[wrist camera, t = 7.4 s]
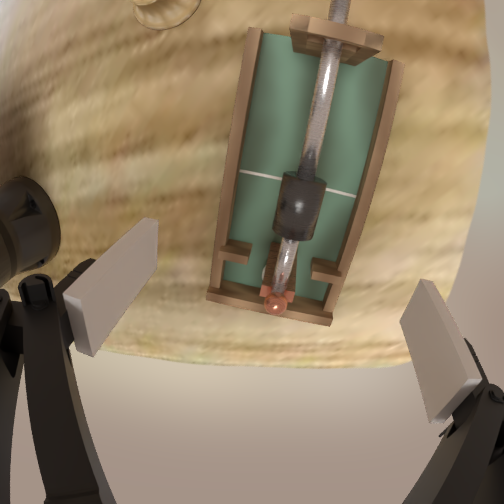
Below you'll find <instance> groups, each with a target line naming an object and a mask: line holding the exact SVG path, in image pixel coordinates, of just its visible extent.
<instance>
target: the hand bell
mask: <svg viewBox="0 0 504 504" xmlns="http://www.w3.org/2000/svg"><path fill="white" fill-rule="evenodd" d="M130 1H131V2H132V3H133V10H134V14H135V17H136V19H137V20H138V21H139V22H140V23H141V24H142V25H143V26H145V27H147V28H149V29H154V30H165V29H169V28H173V27H175V26H178V25H179V24H181V23H183V22H185V21H186V20H187V19H188V18H189V17H190V16H191V15H192V14H193V13H194V12H195V11H196V9H197V8H198V6H199V3H200V1H201V0H130Z"/></svg>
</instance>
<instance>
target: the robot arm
mask: <svg viewBox="0 0 504 504" xmlns="http://www.w3.org/2000/svg"><path fill="white" fill-rule="evenodd" d="M158 221H159V220H156V219H151V218H147V217H144V218H143V219H141V220H140V221H139V222H138V223H137V224H136V225H135V226H133V227H132V228H131V229H130V230H129V231H128V232H127V233H126V234H124V235H123V236H122V237H121V238H120V239H119V240H118V241H117V242H116V243H114V244H113V245H112V246H111V247H110V248H109V249H108V250H107V251H106V252H105V253H104V254H103V255H102V256H100V257H99V258H98V259H97V260H95V259H91V258H90V259H88V260H86V261H84V262H81V263H80V264H79V265H78V266H76V267H75V268H74V269H73V271H71V272H70V273H69V274H68V275H67V276H66V277H65V278H64V279H63V280H62V281H60V282H59V283H58V284H57V285H56V286H55V287H54V288H53V283H52V280H51V278H50V277H49V276H47V275H44V274H33V275H30V276H27V277H26V278H24V279H23V280H22V281H21V282H20V283H19V286H18V290H19V293H20V297H21V300H22V302H18V301H11V299H10V296H9V294H8V292H7V291H6V290H5V289H0V504H10V463H11V447H12V435H13V425H14V417H15V409H16V403H17V396H18V390H19V384H20V379H21V374H22V369H23V364H24V370H25V383H26V392H27V401H28V410H29V417H30V423H31V430H32V435H33V441H34V446H35V451H36V455H37V460H38V464H39V468H40V473H41V476H42V480H43V484H44V487H45V491H46V499H45V501H44V504H116V501H115V499H114V496H113V494H112V492H111V489H110V487H109V485H108V482H107V480H106V477H105V474H104V472H103V469H102V466H101V464H100V461H99V458H98V455H97V452H96V450H95V447H94V444H93V441H92V437H91V434H90V431H89V428H88V424H87V421H86V417H85V414H84V410H83V407H82V403H81V399H80V395H79V391H78V387H77V382H76V378H75V374H74V369H73V364H72V359H71V353H70V350H69V346H70V345H71V343H72V342H73V341H74V342H75V346H76V350H77V351H79V352H81V353H83V354H86V355H88V356H91V357H94V355H95V354H96V352H97V351H98V350H99V348H100V347H101V345H102V344H103V342H104V341H105V339H106V338H107V337H108V335H109V334H110V332H111V331H112V329H113V328H114V327H115V325H116V324H117V322H118V321H119V320H120V318H121V317H122V315H123V314H124V313H125V311H126V310H127V308H128V307H129V306H130V304H131V303H132V301H133V300H134V299H135V297H136V296H137V295H138V293H139V292H140V291H141V289H142V288H143V287H144V285H145V284H146V282H147V281H148V280H149V278H150V277H151V276H152V274H153V273H154V272H155V271H156V269H157V246H158ZM59 244H60V228H59V223H58V218H57V215H56V212H55V210H54V207H53V205H52V203H51V201H50V199H49V198H48V196H47V194H46V193H45V192H44V190H43V189H42V188H41V187H40V186H39V185H38V184H37V183H36V182H34V181H33V180H31V179H29V178H26V177H16V178H14V179H12V180H10V181H7V182H6V183H4V184H3V185H2V186H1V187H0V288H1V287H2V286H3V285H4V284H6V283H7V282H8V281H9V280H10V279H11V278H12V277H14V276H15V275H17V274H20V273H24V272H27V271H30V270H33V269H37V268H40V267H42V266H44V265H45V264H46V263H48V262H49V261H50V260H51V259H52V258H53V257H54V256H55V255H56V253H57V251H58V248H59ZM400 324H401V327H402V330H403V333H404V336H405V339H406V342H407V345H408V349H409V352H410V355H411V358H412V362H413V365H414V368H415V372H416V375H417V379H418V382H419V386H420V389H421V393H422V397H423V400H424V404H425V408H426V412H427V416H428V421H429V423H443V422H445V421H446V420H447V419H448V418H449V417H450V415H451V414H452V416H453V420H454V421H453V422H452V423H451V424H450V425H449V426H448V427H447V428H446V429H445V430H444V431H443V432H442V433H441V434H440V435H439V437H441V436H442V435H444V437H443V438H442V440H441V442H440V444H439V446H438V447H437V449H436V451H435V453H434V455H433V456H432V458H431V460H430V462H429V463H428V465H427V467H426V468H425V470H424V471H423V473H422V475H421V476H420V478H419V479H418V481H417V482H416V484H415V485H414V487H413V489H412V490H411V491H410V493H409V494H408V496H407V497H406V499H405V500H404V502H403V503H402V504H504V393H503V391H502V390H501V389H500V388H499V387H498V386H496V385H494V384H489V382H488V380H487V377H486V375H485V373H484V371H483V368H482V366H481V364H480V362H479V360H478V358H477V356H476V354H475V352H474V349H473V347H472V345H471V344H470V343H469V342H468V341H467V340H466V339H465V338H463V336H462V334H461V332H460V330H459V328H458V326H457V324H456V323H455V321H454V319H453V317H452V315H451V313H450V311H449V309H448V308H447V306H446V304H445V302H444V300H443V298H442V297H441V295H440V293H439V291H438V290H437V288H436V286H435V284H434V283H433V281H429V280H425V279H420V281H419V283H418V285H417V287H416V289H415V291H414V293H413V296H412V298H411V300H410V302H409V304H408V305H407V307H406V309H405V311H404V313H403V315H402V317H401V319H400Z"/></svg>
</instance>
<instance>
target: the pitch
mask: <svg viewBox="0 0 504 504" xmlns="http://www.w3.org/2000/svg"><path fill="white" fill-rule="evenodd" d="M289 29H290V35H291V37H288V36H282V35H276V34H269V33H264V32H263V31H262V29H261V28H252V27H249V28H248V33H247V38H246V44H245V49H244V54H243V60H242V65H241V71H240V77H239V82H238V88H237V94H236V100H235V106H234V112H233V118H232V124H231V130H230V137H229V143H228V150H227V156H226V163H225V170H224V177H223V184H222V191H221V198H220V205H219V213H218V220H217V228H216V236H215V244H214V252H213V260H212V269H211V277H210V286H209V288H208V290H207V295H206V300H209V301H213V302H217V303H221V304H225V305H230V306H234V307H238V308H243V309H247V310H251V311H256V312H260V313H265V314H270V313H268V312H267V311H266V309H265V307H264V300H265V298H266V297H262V296H259V295H260V291H261V286H262V282H263V280H262V272H263V269H264V267H265V266H266V264H267V259H268V254H269V250H270V245H271V242H275V243H279V244H281V241H282V237H281V236H279V235H277V234H276V233H275V232H274V231H273V230H272V224H273V220H274V215H275V210H276V205H277V201H278V196H279V191H280V186H281V181H282V177H283V173H284V172H286V171H295V172H297V170H298V165H299V161H300V156H301V152H302V147H303V142H304V137H305V133H306V128H307V123H308V118H309V113H310V108H311V104H312V99H313V94H314V89H315V84H316V79H317V73H318V68H319V63H320V58H321V53H322V47H323V42H324V38H327V39H332V40H336V41H340V42H343V48H342V53H341V58H340V64H339V69H338V74H337V79H336V84H335V89H334V94H333V99H332V103H331V108H330V113H329V117H328V122H327V127H326V131H325V136H324V140H323V145H322V149H321V154H320V158H319V162H318V167H317V171H316V175H315V176H316V177H319V178H321V179H323V180H324V181H326V182H327V186H326V190H325V194H324V198H323V202H322V206H321V209H320V213H319V217H318V221H317V224H316V228H315V232H314V235H313V238H312V239H311V240H309V241H299V244H298V247H297V269H296V288H295V295H294V298H293V301H292V303H290V302H288V305H287V308H286V310H285V311H284V312H283V313H282V314H280V315H274V316H279V317H284V318H289V319H293V320H298V321H303V322H308V323H313V324H319V325H324V326H329V327H330V325H331V323H332V320H333V314H332V312H333V310H334V307H335V305H336V302H337V300H338V297H339V294H340V292H341V289H342V287H343V284H344V281H345V278H346V276H347V273H348V270H349V267H350V265H351V262H352V259H353V256H354V253H355V250H356V247H357V245H358V242H359V239H360V236H361V233H362V230H363V226H364V223H365V220H366V217H367V214H368V211H369V208H370V204H371V201H372V198H373V194H374V191H375V188H376V184H377V181H378V177H379V174H380V170H381V166H382V163H383V159H384V155H385V151H386V148H387V144H388V140H389V136H390V132H391V127H392V123H393V119H394V115H395V110H396V106H397V101H398V97H399V92H400V87H401V82H402V77H403V72H404V66H405V64H404V63H402V62H399V61H396V60H391V61H389V62H387V61H384V60H381V59H378V58H375V57H372V56H374V55H375V54H377V53H379V52H380V51H381V50H382V44H383V38H384V36H383V35H380V34H377V33H373V32H370V31H367V30H363V29H360V28H356V27H353V26H349V25H345V24H341V23H337V22H333V21H329V20H324V19H320V18H315V17H310V16H305V15H299V14H294V13H292V18H291V23H290V28H289ZM270 315H272V314H270Z"/></svg>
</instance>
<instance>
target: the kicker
mask: <svg viewBox="0 0 504 504" xmlns="http://www.w3.org/2000/svg"><path fill="white" fill-rule="evenodd" d="M350 2H351V0H331V4H330V9H329V15H328V20H329V21H333V22H337V23H341V24H345V25H347V20H348V14H349V8H350ZM342 48H343V42H340V41H336V40H332V39H327V38H324V42H323V47H322V53H321V58H320V63H319V68H318V73H317V79H316V84H315V89H314V94H313V99H312V104H311V108H310V113H309V118H308V123H307V128H306V133H305V137H304V142H303V147H302V152H301V156H300V161H299V165H298V170H297V172H295V171H286V172H284V173H283V177H282V181H281V186H280V191H279V196H278V201H277V205H276V210H275V215H274V220H273V224H272V230H273V231H274V232H275V233H276V234H277V235H279V236H281V237H282V241H281V244H279V243H275V242H271V245H270V250H269V254H268V259H267V264H266V268H265V273H264V277H263V282H262V286H261V291H260V295H259V296H262V297H266V298H265V300H264V307H265V309H266V311H267V312H268V313H270V314H272V315H280V314H282V313H283V312H284V311H285V310H286V308H287V305H288V302H290V303H292V301H293V298H294V295H295V288H296V269H297V247H298V244H299V241H309V240H311V239H312V238H313V235H314V232H315V228H316V224H317V221H318V217H319V213H320V209H321V206H322V202H323V198H324V194H325V190H326V186H327V182H326V181H324V180H323V179H321V178H319V177H316V176H315V175H316V171H317V167H318V162H319V158H320V154H321V149H322V145H323V140H324V136H325V131H326V127H327V122H328V117H329V113H330V108H331V103H332V99H333V94H334V89H335V84H336V79H337V74H338V69H339V64H340V58H341V53H342Z"/></svg>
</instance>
